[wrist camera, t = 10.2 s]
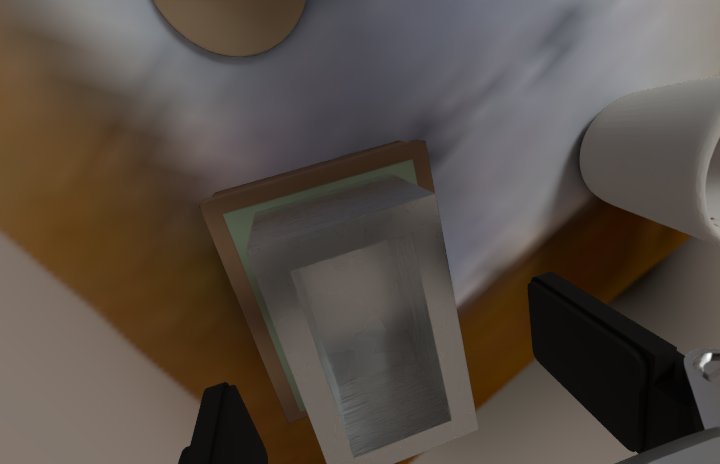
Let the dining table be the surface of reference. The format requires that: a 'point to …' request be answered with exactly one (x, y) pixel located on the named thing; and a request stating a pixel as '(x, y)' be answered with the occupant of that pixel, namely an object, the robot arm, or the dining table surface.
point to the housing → (367, 318)
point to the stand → (238, 205)
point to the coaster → (233, 23)
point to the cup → (660, 156)
